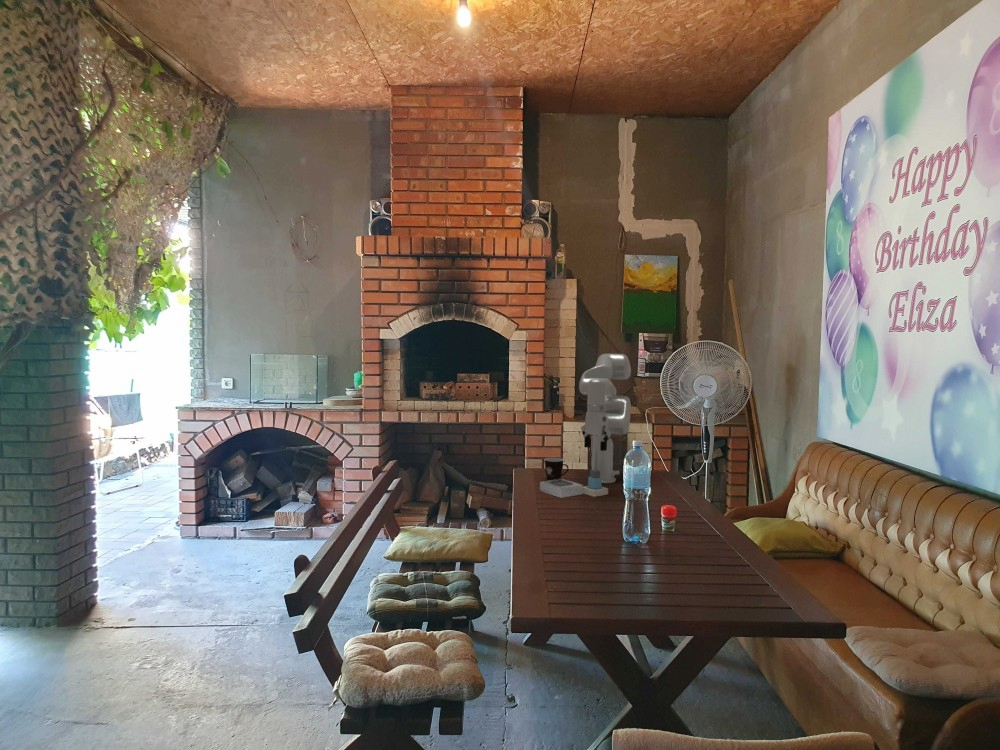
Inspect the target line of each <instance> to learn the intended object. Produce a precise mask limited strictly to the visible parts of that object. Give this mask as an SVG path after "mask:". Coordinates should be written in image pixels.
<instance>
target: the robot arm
mask: <svg viewBox="0 0 1000 750" xmlns="http://www.w3.org/2000/svg"><path fill="white" fill-rule="evenodd" d="M631 374H632V367H631V363H630V360H629V358H628V356H627V355H626V354H624V353H603V354H600V355H599V356H598V358H597V361H596V363H595V366H593V367H591V368H590V369H587V370H585V371H584V372H583V373H582V374H581V377H580V379H579V383H578V389H579V393H581V395H584V396H587V402H586V403H587V405H586V407H587V408H586V409H587V411H586V413H585V419H584V420H585V421H584V425H582V426H580V429H581V434H582V435H583V439H584V442H583V443H584V445H583V446H584V448H590V447H591V446H592V449H591V450H592V451H591V453H592V454H591V455H592V457H591V470H599V471H600V477H601V478H602V484H612V483H615V482H616V481H617V479H616V477H615V476H618V475H620V474H621V473H620V471H619V470H613V467H614V461H613V460H614V458H613V457H614V442H613V440H612V438H611V435H626V434H628V432H629V429H630V422H631V412H632V411H631V410H632V404H631V400H630V398H629V397H628V396H626V395H617V387H615V385H614V384H613V382H612V380H628V379H629V378H630V377H631ZM591 444H592V445H591Z"/></svg>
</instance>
